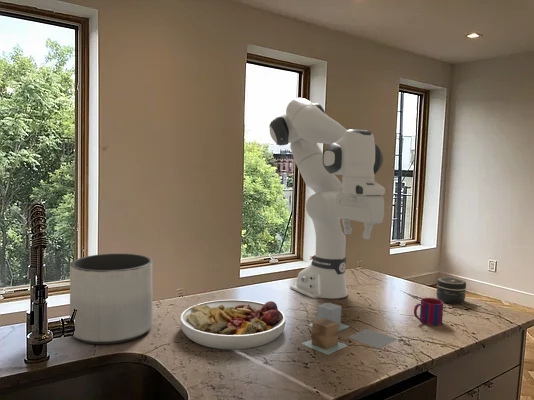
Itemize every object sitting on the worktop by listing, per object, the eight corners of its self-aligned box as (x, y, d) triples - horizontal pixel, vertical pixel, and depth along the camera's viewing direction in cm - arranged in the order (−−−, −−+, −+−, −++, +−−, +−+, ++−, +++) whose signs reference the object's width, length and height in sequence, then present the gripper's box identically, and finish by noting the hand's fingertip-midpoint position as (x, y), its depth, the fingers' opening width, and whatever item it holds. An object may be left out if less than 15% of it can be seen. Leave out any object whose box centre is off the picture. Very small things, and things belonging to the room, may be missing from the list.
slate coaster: (347, 339, 127) (347, 337, 127) (367, 330, 134) (367, 328, 134) (378, 350, 120) (378, 348, 120) (397, 341, 127) (397, 339, 127)
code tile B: (307, 326, 136) (307, 324, 135) (326, 320, 142) (326, 318, 142) (331, 335, 129) (331, 333, 129) (349, 328, 135) (349, 326, 135)
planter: (129, 312, 143) (129, 250, 142) (167, 332, 128) (168, 263, 126) (57, 329, 128) (56, 259, 126) (90, 354, 112) (90, 275, 110)
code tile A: (300, 345, 121) (300, 343, 121) (322, 337, 128) (322, 335, 128) (327, 356, 115) (327, 354, 115) (348, 347, 121) (348, 345, 121)
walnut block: (311, 343, 121) (312, 322, 121) (323, 339, 125) (324, 318, 124) (326, 349, 118) (327, 327, 117) (337, 344, 121) (338, 323, 121)
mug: (446, 325, 141) (448, 303, 140) (418, 327, 138) (420, 305, 138) (433, 317, 147) (434, 297, 147) (406, 319, 145) (407, 298, 144)
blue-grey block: (316, 325, 135) (317, 305, 135) (327, 321, 139) (328, 302, 138) (330, 329, 132) (331, 309, 131) (340, 325, 135) (341, 306, 135)
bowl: (200, 363, 110) (201, 332, 109) (167, 322, 136) (167, 296, 136) (304, 343, 124) (305, 315, 123) (256, 309, 150) (257, 286, 150)
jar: (467, 300, 168) (468, 279, 167) (462, 306, 160) (464, 285, 159) (439, 295, 173) (440, 275, 173) (433, 301, 165) (434, 280, 164)
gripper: (330, 185, 135) (329, 231, 136) (368, 189, 116) (366, 242, 117) (348, 185, 137) (347, 230, 138) (389, 189, 118) (387, 241, 119)
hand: (356, 236), depth 127 cm, fingers open, 8 cm apart
